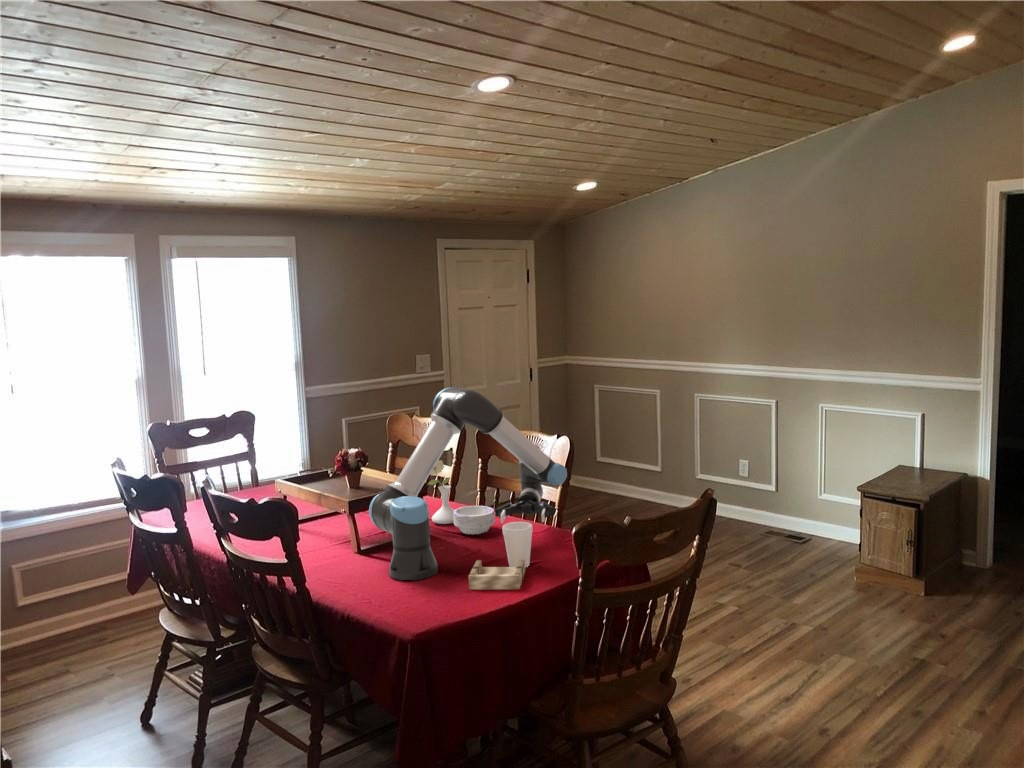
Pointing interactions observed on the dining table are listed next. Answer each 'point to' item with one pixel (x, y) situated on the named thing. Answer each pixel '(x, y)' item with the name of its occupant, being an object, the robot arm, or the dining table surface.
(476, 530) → the paper bowls
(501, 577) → the cradle
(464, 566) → the dining table surface
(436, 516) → the flower in vase
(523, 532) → the foam cup
